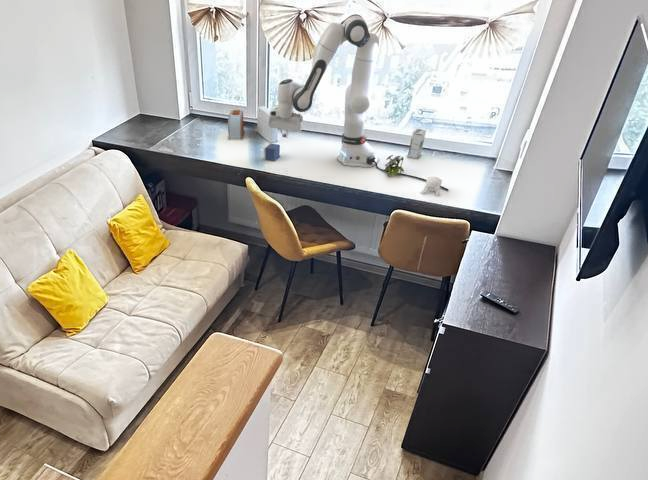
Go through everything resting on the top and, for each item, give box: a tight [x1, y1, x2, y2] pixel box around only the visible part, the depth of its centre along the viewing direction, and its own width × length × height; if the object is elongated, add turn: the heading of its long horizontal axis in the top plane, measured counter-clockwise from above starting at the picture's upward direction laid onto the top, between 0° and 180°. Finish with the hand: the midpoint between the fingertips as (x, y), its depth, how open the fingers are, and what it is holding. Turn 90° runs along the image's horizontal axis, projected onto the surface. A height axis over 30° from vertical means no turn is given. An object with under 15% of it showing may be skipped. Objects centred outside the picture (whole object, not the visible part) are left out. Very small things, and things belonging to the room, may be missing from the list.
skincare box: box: [256, 105, 279, 144], centre depth 338 cm, size 21×6×16 cm, turn 22°
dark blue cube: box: [263, 142, 281, 162], centre depth 317 cm, size 7×8×7 cm
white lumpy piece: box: [421, 176, 443, 196], centre depth 275 cm, size 9×8×15 cm
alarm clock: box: [227, 109, 245, 140], centre depth 344 cm, size 15×8×14 cm, turn 172°
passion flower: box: [383, 154, 405, 177], centre depth 294 cm, size 11×11×12 cm
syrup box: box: [407, 128, 427, 160], centre depth 306 cm, size 6×6×14 cm
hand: (285, 137), depth 307 cm, fingers closed
